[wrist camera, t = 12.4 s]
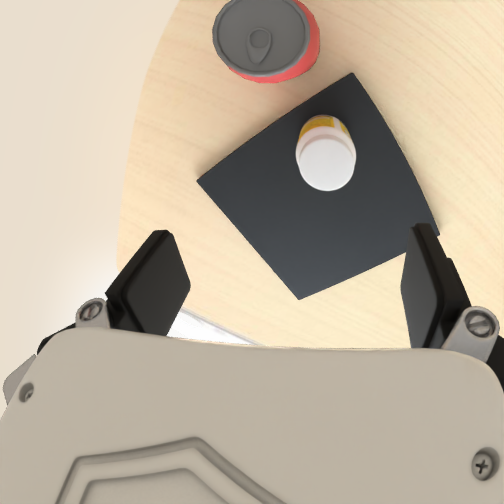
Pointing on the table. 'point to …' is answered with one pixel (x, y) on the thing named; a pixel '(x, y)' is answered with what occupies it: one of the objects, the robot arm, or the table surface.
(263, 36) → the beer can
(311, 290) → the mat
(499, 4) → the table surface
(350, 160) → the supplement bottle
